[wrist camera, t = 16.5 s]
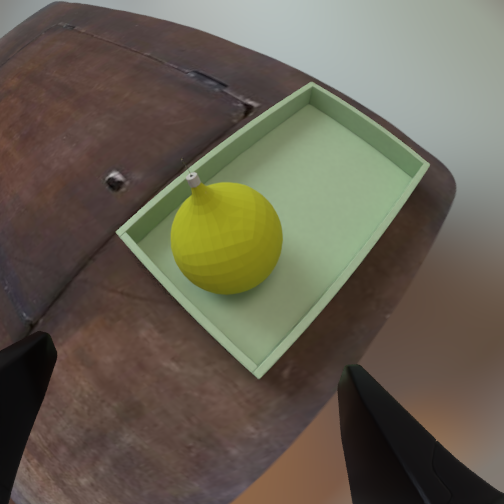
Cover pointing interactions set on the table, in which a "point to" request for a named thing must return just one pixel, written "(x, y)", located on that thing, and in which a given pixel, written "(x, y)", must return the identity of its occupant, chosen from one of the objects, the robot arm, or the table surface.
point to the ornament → (225, 237)
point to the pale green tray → (288, 217)
